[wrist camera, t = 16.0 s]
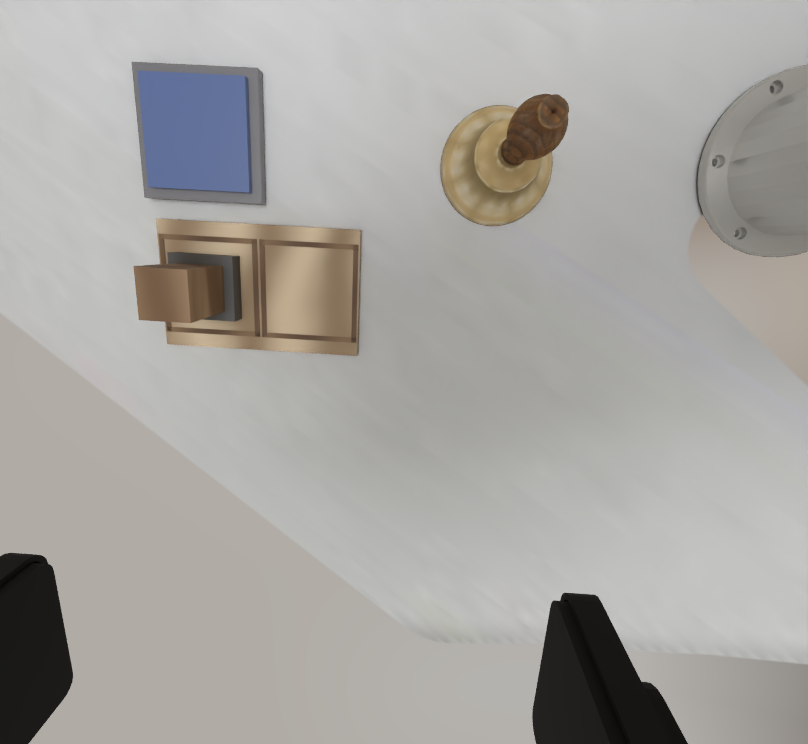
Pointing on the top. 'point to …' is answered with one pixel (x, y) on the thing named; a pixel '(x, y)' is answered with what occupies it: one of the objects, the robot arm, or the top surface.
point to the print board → (276, 286)
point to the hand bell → (503, 159)
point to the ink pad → (201, 132)
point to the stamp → (190, 288)
